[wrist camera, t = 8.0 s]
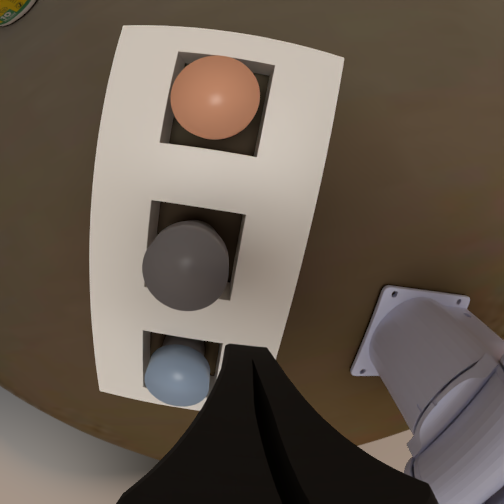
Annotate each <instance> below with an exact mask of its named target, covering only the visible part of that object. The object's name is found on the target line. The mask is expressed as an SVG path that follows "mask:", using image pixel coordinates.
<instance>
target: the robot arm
mask: <svg viewBox="0 0 504 504" xmlns="http://www.w3.org/2000/svg"><path fill="white" fill-rule="evenodd" d="M394 291H395V294H394V295H392V293H393V292H394ZM469 302H470V298H469V297H468V296H466V295H459V294H451V293H443V292H436V291H428V290H421V289H414V288H406V287H399V286H392V285H387V286H385V287H384V288H383V289H382V291H381V293H380V296H379V299H378V302H377V305H376V307H375V310H374V313H373V315H372V318H371V321H370V323H369V326H368V328H367V331H366V333H365V336H364V338H363V341H362V343H361V346H360V348H359V351H358V353H357V355H356V358H355V360H354V362H353V365H352V367H351V369H350V371H351V374H352V375H353V376H380V377H381V379H382V381H383V382H384V384H385V386H386V387H387V389H388V391H389V393H390V394H391V396H392V398H393V400H394V401H395V403H396V405H397V407H398V408H399V410H400V412H401V414H402V415H403V417H404V419H405V421H406V423H407V424H408V426H409V428H410V430H411V432H412V433H413V435H414V436H413V437H412V439H411V440H410V441H409V442H408V443H407V446H408V448H409V450H410V452H411V454H412V456H413V457H412V458H410V460H409V461H408V462H407V464H406V466H405V470H404V473H402V472H400V471H398V470H396V469H393V468H392V467H390V466H388V465H386V464H384V463H383V462H381V461H379V460H377V459H376V458H374V457H372V456H371V455H369V454H368V453H366V452H365V451H363V450H362V449H360V448H359V447H357V446H356V445H355V444H353V443H352V442H350V441H349V440H348V439H346V438H345V437H344V436H343V435H341V434H340V433H339V432H338V431H337V430H336V429H334V428H333V427H332V426H331V425H330V424H329V423H328V422H327V421H325V420H324V419H323V418H322V417H321V416H320V415H319V414H318V413H317V412H316V411H315V410H314V409H313V407H312V406H311V405H310V404H309V403H308V402H307V401H306V400H305V398H304V397H303V396H302V395H301V394H300V392H299V391H298V390H297V389H296V387H295V386H294V385H293V384H292V382H291V381H290V380H289V378H288V377H287V376H286V374H285V373H284V371H283V370H282V368H281V367H280V366H279V364H278V363H277V361H276V360H275V358H274V357H273V355H272V354H271V352H270V351H269V350H268V348H267V347H258V346H248V345H239V344H231V343H229V344H227V345H226V346H225V349H224V355H223V360H222V366H221V370H220V372H219V375H218V377H217V380H216V382H215V384H214V386H213V388H212V390H211V392H210V394H209V396H208V398H207V400H206V402H205V403H204V405H203V407H202V408H201V410H200V412H199V413H198V415H197V416H196V418H195V419H194V421H193V422H192V424H191V425H190V426H189V428H188V429H187V430H186V432H185V433H184V434H183V435H182V437H181V438H180V439H179V441H178V442H177V443H176V444H175V445H174V447H173V448H172V449H171V450H170V451H169V452H168V453H167V454H166V455H165V456H164V457H163V458H162V459H161V460H160V461H159V462H158V464H156V465H155V467H154V468H153V469H151V470H150V471H149V472H148V473H147V474H146V475H145V476H144V477H142V478H141V479H140V480H139V481H138V482H137V483H135V484H134V485H133V486H132V487H131V488H129V489H128V490H127V491H126V492H124V493H123V494H122V496H121V497H120V499H119V500H118V502H117V503H116V504H504V341H503V340H502V339H501V338H500V337H499V336H498V335H497V334H496V333H494V332H493V331H492V330H491V329H490V328H489V327H488V326H486V325H485V324H484V323H483V322H482V321H481V320H479V319H478V318H477V317H476V316H475V315H473V314H472V313H471V312H470V311H469V310H467V307H468V305H469ZM362 369H363V370H362ZM361 370H362V371H361Z"/></svg>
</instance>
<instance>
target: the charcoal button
mask: <svg viewBox="0 0 504 504" xmlns="http://www.w3.org/2000/svg"><path fill="white" fill-rule="evenodd" d="M142 273H143V278H144V281H145V284H146V286H147V288H148V290H149V291H150V292H151V294H152V295H153V296H154V297H155V298H156V299H157V300H158V301H159V302H161V303H162V304H164V305H166V306H168V307H170V308H172V309H175V310H180V311H196V310H200V309H203V308H206V307H208V306H210V305H211V304H213V303H214V302H215V301H216V300H217V299H218V298H219V297H220V296H221V295H222V293H223V292H224V290H225V288H226V285H227V281H228V274H229V256H228V251H227V248H226V246H225V243H224V242H223V240H222V238H221V237H220V236H219V235H218V234H217V232H216V231H215V229H214V228H213V227H212V226H210V225H209V224H208V223H206V222H203V221H200V220H187V221H182V222H177V223H174V224H172V225H170V226H168V227H166V228H165V229H163V230H162V231H161V232H160V233H159V234H158V236H157V237H156V238H155V239H154V240H153V242H152V243H151V244H150V245H149V247H148V249H147V250H146V252H145V255H144V258H143V263H142Z"/></svg>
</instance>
